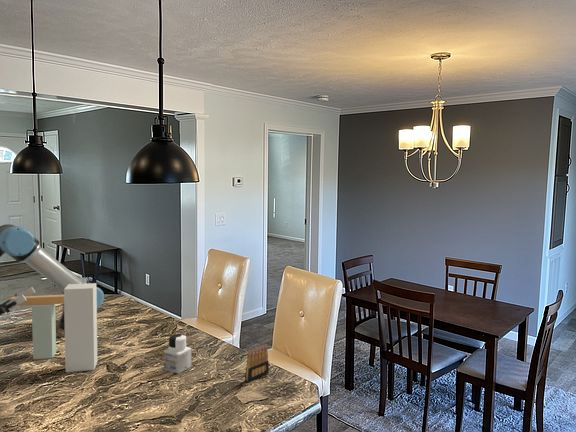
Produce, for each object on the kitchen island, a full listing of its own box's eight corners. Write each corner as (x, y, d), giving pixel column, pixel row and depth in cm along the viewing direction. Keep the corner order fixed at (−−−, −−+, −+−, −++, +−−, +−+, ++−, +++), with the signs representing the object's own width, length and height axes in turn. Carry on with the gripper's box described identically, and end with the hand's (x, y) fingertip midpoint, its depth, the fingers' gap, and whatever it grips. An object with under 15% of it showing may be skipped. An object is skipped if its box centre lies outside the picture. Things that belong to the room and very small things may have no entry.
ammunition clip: (248, 382, 160) (248, 350, 159) (244, 380, 161) (245, 349, 160) (268, 373, 168) (269, 343, 167) (265, 371, 169) (266, 341, 168)
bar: (12, 304, 175) (12, 296, 175) (69, 301, 180) (69, 294, 180) (10, 306, 172) (9, 298, 172) (68, 303, 178) (68, 296, 177)
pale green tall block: (37, 353, 180) (36, 301, 178) (56, 352, 182) (55, 301, 180) (33, 359, 175) (31, 306, 173) (52, 358, 176) (51, 305, 175)
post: (70, 363, 172) (68, 284, 169) (97, 361, 174) (96, 283, 172) (65, 372, 164) (63, 289, 161) (94, 369, 167) (92, 288, 164)
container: (163, 369, 168) (163, 337, 167) (176, 362, 175) (176, 331, 174) (178, 374, 165) (178, 341, 164) (191, 366, 172) (191, 334, 171)
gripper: (-7, 321, 183) (42, 293, 187) (-32, 341, 160) (25, 309, 164) (-18, 306, 181) (32, 278, 185) (-45, 325, 159) (13, 293, 163)
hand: (29, 293), depth 175 cm, fingers open, 11 cm apart
